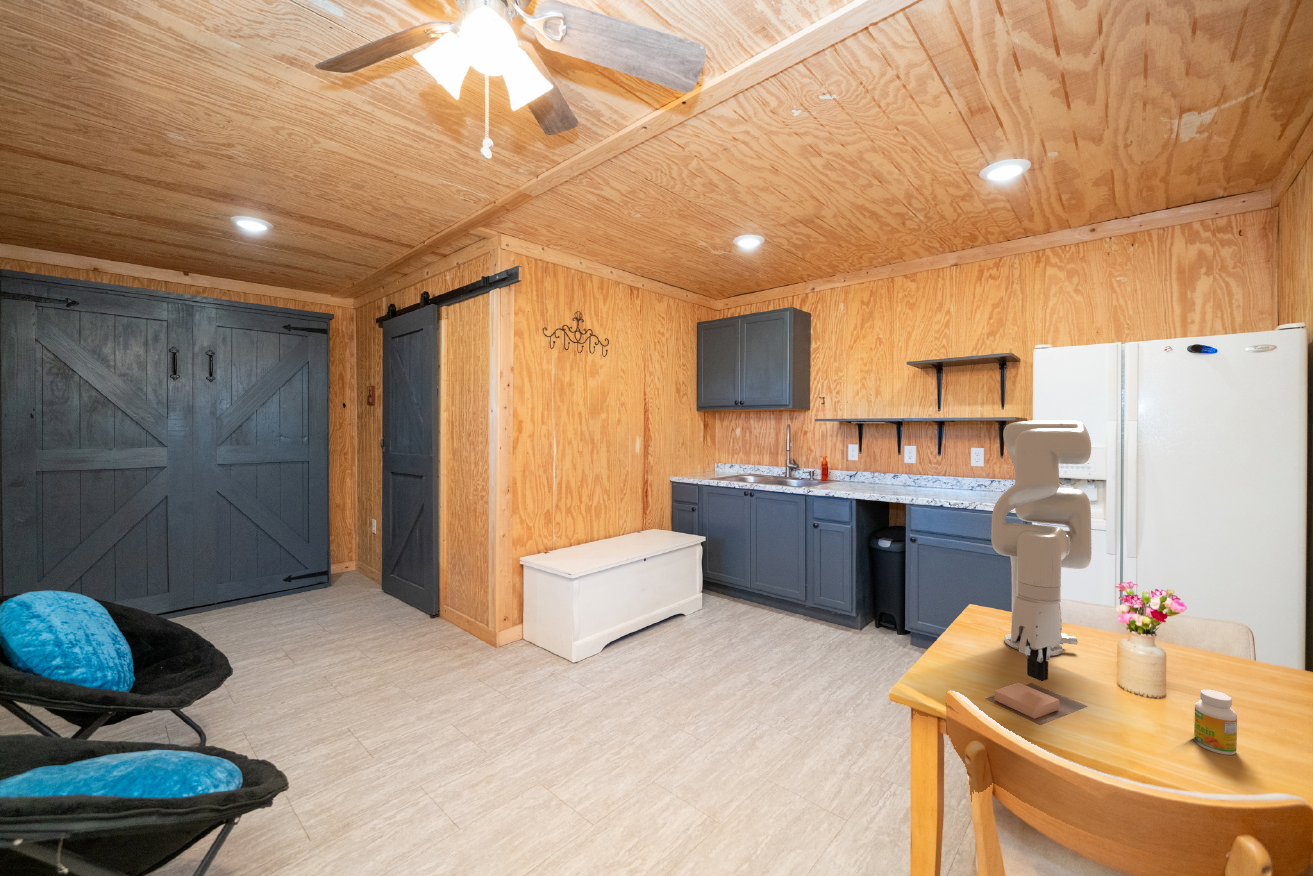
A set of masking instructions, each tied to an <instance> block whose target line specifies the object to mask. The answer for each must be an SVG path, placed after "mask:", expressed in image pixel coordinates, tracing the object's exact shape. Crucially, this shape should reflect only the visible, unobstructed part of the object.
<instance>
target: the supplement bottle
mask: <svg viewBox="0 0 1313 876" xmlns="http://www.w3.org/2000/svg"><path fill="white" fill-rule="evenodd" d="M1199 697H1200V699H1199V700H1198V701H1196V702H1195V703H1194V728H1193V729H1194V730H1193V731H1194V732H1193V735H1194V737H1193V740H1194V742H1195V743H1196V744H1197V745H1198V746H1200V747H1201V748H1203V749H1206V750H1208V751H1210V752H1213V753H1216V754H1220V755H1225V756H1230V755H1235V754H1236V753H1237V747H1238V746H1237V745H1238V744H1237V743H1238V741H1237V740H1238V739H1237V738H1238V735H1237V734H1238V732H1237V731H1238V714H1237V712H1236V711H1235V710H1234V709H1233V708H1231V707H1232V705H1233V699H1232V697H1231V696H1230V695H1229V694H1226V693H1224V692H1221V691H1217V690H1213V689H1207V688H1206V689H1201V690H1200V694H1199Z"/></svg>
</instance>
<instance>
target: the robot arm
mask: <svg viewBox="0 0 1313 876" xmlns="http://www.w3.org/2000/svg"><path fill="white" fill-rule="evenodd" d="M1089 434H1090V433H1089V432H1088V429H1087V427H1086V425H1085V424H1084V423H1083V422H1082V421H1077V420H1027V421H1025V420H1024V421H1023V420H1022V421H1016V422H1011V423H1009V424H1007V425H1006V426H1004V429H1003V436H1002V437H1003V443H1004V445H1005V450H1006V452H1007V454H1008V457H1009V458H1010V460H1011V463H1012V466H1013V469H1014V485H1012V486H1011V487H1009V488H1008V489H1007V490H1006V491H1005V492H1004V493H1002V495H1001V496H1000V497H999V498H998V499H997V501H996V502H995V505H994V507H993V509H992V514H991V532H990V533H991V534H990V535H991V536H990V538H991V541H990V542H991V545H992V548H993V549H994V551H995V552H996V553H997V554H999V555H1001V556H1005V557H1009V558H1010V564H1011V630H1010V633H1007V634H1005V636H1004V643H1005V644H1006V645H1008V646H1009V647H1011V648H1013V649H1015V650H1018V653H1020V654H1022V655H1025V657H1026V661H1027V662H1026V664H1027V665H1026V675H1027V676H1028V677H1030V678H1032V679H1035V680H1038V681H1040V682H1044V681H1048V680H1049V661H1050V658H1051V656H1052V657H1053V656H1057V655H1060V654H1062V653H1063V645H1064V644H1068V645H1074V646H1075V645H1078V643H1079V641H1078V638H1077V637H1076V636H1070V635H1069V636H1068V635H1067V634H1066V633H1062V632H1063V631H1062V630H1063V624H1062V621H1063V619H1062V609H1061V602H1062V601H1061V599H1062V568H1065V569H1073V570H1074V569H1075V570H1083V569H1086V568H1088V567H1089V566H1090V564H1091V560H1092V512H1091V502H1090V498H1089V497H1088V494H1087V493H1085V491H1083V490H1081V489H1076V488H1075V489H1074V488H1065V487H1064V488H1061V487H1060V468H1059V467H1060V465H1084V464H1087V462H1088V461H1089V460H1090V458H1091V455H1092V442H1091V437H1090V435H1089ZM1014 509H1015V515H1016V516H1017V518H1018V519H1019V520H1021V521H1024V522H1027V523H1020V522H1019V523H1018V522H1017V523H1016V522H1007V515H1008V514H1009V513H1010V512H1011V511H1013V510H1014ZM1028 522H1029V523H1030V524H1029V523H1028ZM1031 523H1034V524H1031ZM1035 523H1036V524H1035ZM1040 524H1047V525H1040ZM1051 525H1059V526H1066V527H1067V528H1068V530H1064V529H1062V528H1061V527H1058V526H1051Z"/></svg>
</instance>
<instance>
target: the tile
mask: <svg viewBox="0 0 1313 876" xmlns="http://www.w3.org/2000/svg"><path fill="white" fill-rule="evenodd" d="M994 695H995V700H996V701H998V702H1000V703H1002V704H1004V705H1006V706H1008V707H1011V708H1013V709H1015V710H1017V711H1019V712H1021V713H1023V714H1025V715H1028V716H1030V717H1032V718H1034V719H1035V718H1038V717H1041V716H1043V715H1046V714H1048V713H1051V712H1054V711H1056V710H1059V699H1056V698H1054V697H1052V696H1049V695H1047V694H1045V693H1042V692H1040V691H1037V690H1035V689H1033V688H1030V687H1028V686H1026V684H1023V683H1022V682H1021V683H1020V682H1015V683H1013V684H1010V685H1007V686H1004V687H1001V688H997V689H994Z"/></svg>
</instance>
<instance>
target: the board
mask: <svg viewBox="0 0 1313 876" xmlns="http://www.w3.org/2000/svg"><path fill="white" fill-rule="evenodd" d="M1025 685H1026V686H1028V687H1030V688H1033V689H1035V690H1037V691H1040V692H1042V693H1045V694H1047V695H1049V696H1052V697H1054V698H1056V699H1059V710H1056V711H1054V712H1051V713H1048V714H1046V715H1043V716H1041V717H1038V718H1035V719H1034V718H1032V717H1030V716H1028V715H1025V714H1023V713H1021V712H1019V711H1017V710H1015V709H1013V708H1011V707H1008V706H1006V705H1004V704H1002V703H1000V702H998V701H996V700H995V694H994V695H991V696H988V697H986V698H984V699H985V700H987V701H989V702H991V703H993V704H995V705H998V706H999V707H1000V708H1003V709H1005V710H1008V711H1010V712H1012V713H1014V714H1016V715H1019V716H1020V717H1022V718H1024V719H1027V720H1029V721H1031V722H1033V723H1035V724H1037V725H1038V726H1042V725H1044V724H1047V723H1050V722H1052V721H1055V720H1057V719H1060V718H1062V717H1065V716H1067V715H1070V714H1072V713H1074V712H1077V711H1080V710H1082V709H1084V708H1087V707H1088V705H1086V704H1084V703H1082V702H1078V701H1076V700H1074V699H1072V698H1069V697H1067V696H1065V695H1062V694H1060V693H1057V692H1055V691H1052V690H1050V689H1049V688H1045V687H1043V686H1040V685H1038V684H1035V683H1034V682H1030V683H1027V684H1025Z"/></svg>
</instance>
